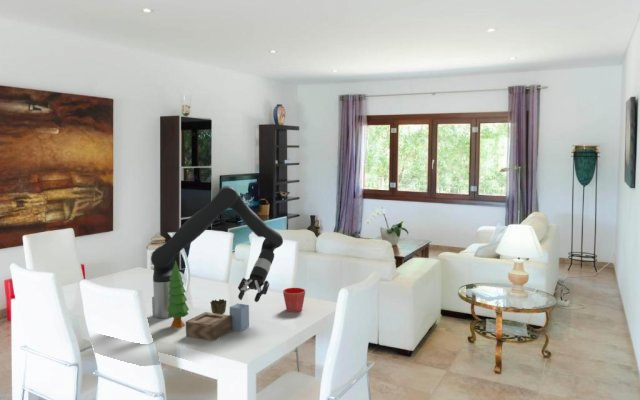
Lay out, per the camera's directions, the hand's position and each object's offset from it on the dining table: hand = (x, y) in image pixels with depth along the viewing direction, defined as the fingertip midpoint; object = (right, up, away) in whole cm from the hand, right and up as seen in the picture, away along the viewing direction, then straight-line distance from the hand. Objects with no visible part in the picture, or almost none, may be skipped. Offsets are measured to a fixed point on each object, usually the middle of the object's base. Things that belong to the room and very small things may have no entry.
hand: (247, 300), depth 237 cm
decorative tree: (-31, -11, -2) cm, 33 cm away
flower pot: (+20, -9, +22) cm, 31 cm away
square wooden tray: (-15, -12, -12) cm, 23 cm away
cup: (-15, -10, +10) cm, 21 cm away
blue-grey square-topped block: (-3, -11, -5) cm, 13 cm away
